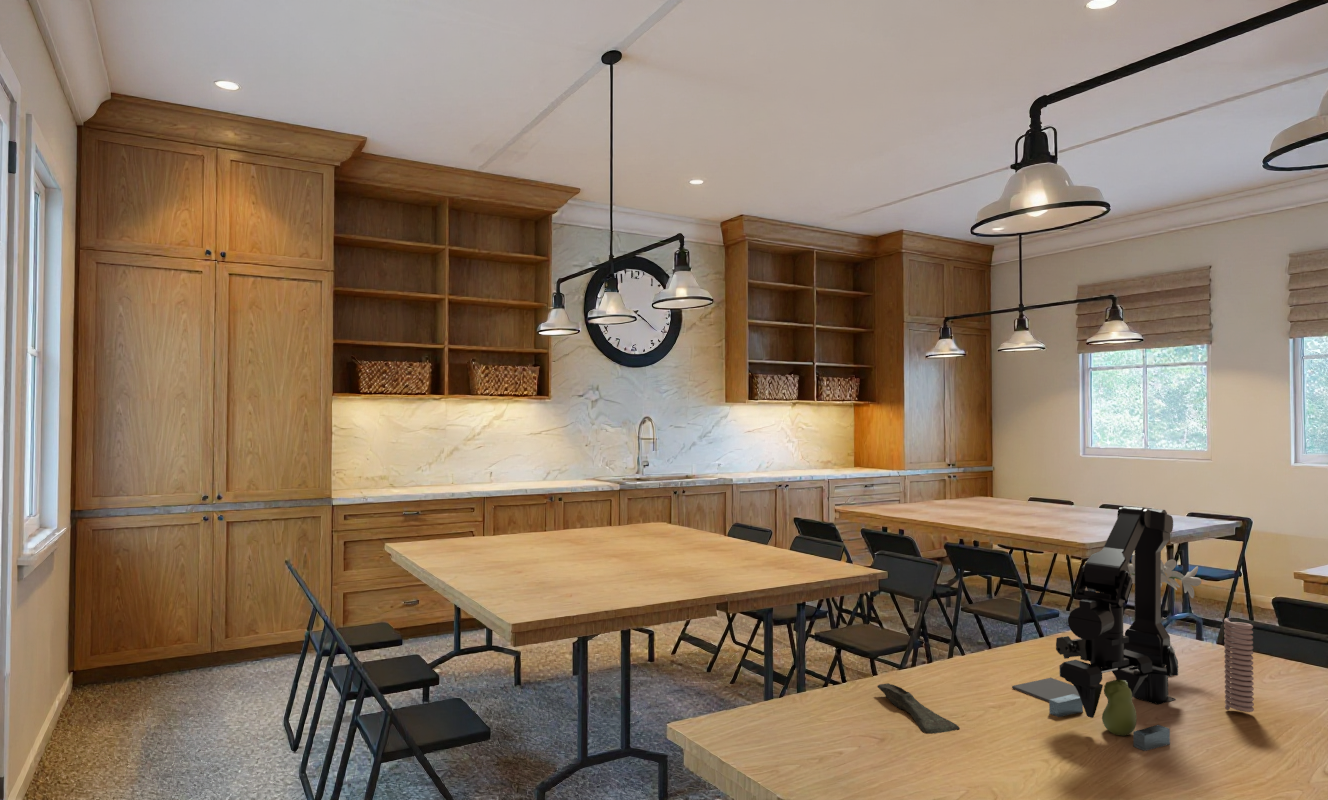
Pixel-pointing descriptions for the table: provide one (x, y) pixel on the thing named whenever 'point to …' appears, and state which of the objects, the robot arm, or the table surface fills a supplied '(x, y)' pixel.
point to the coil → (1238, 666)
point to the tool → (917, 710)
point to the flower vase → (1169, 574)
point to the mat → (1047, 689)
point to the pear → (1119, 708)
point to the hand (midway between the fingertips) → (1106, 712)
